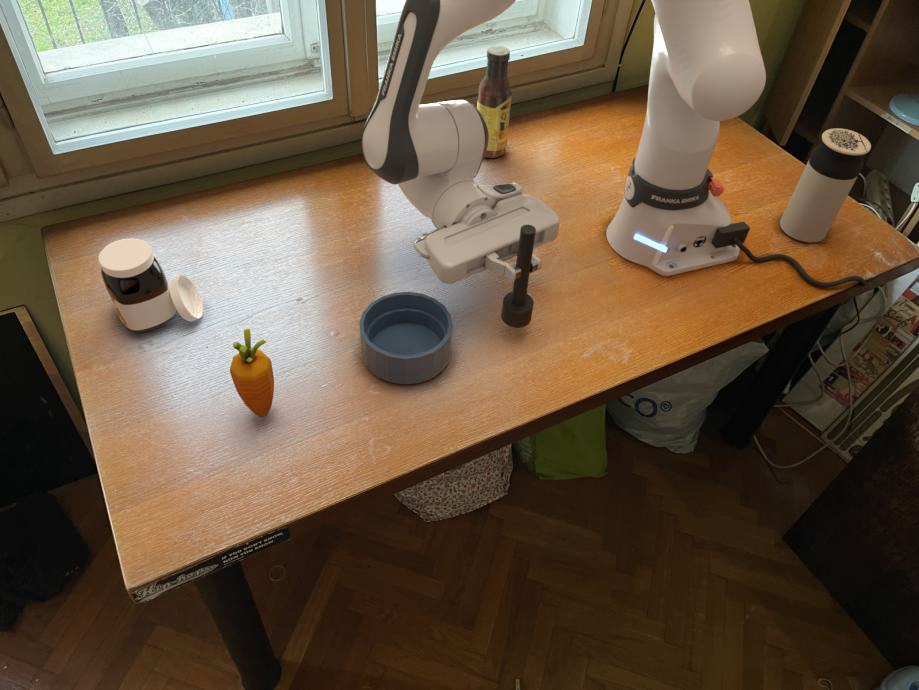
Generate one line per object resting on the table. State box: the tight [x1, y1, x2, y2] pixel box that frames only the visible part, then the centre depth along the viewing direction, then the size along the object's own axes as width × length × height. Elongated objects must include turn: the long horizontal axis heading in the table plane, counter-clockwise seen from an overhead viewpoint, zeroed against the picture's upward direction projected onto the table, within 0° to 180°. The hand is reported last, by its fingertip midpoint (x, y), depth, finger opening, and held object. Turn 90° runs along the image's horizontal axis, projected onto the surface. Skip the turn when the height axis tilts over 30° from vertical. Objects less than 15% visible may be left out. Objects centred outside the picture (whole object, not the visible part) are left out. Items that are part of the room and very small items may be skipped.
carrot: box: [229, 328, 275, 418], centre depth 89 cm, size 5×5×15 cm
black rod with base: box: [500, 225, 536, 329], centre depth 99 cm, size 4×4×16 cm
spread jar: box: [98, 237, 204, 333], centre depth 102 cm, size 12×11×12 cm
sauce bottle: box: [476, 45, 513, 159], centre depth 133 cm, size 7×6×20 cm
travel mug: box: [779, 127, 872, 243], centre depth 121 cm, size 8×8×18 cm
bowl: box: [358, 291, 454, 385], centre depth 102 cm, size 13×13×6 cm
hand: (527, 271), depth 97 cm, fingers closed on black rod with base, 2 cm apart
